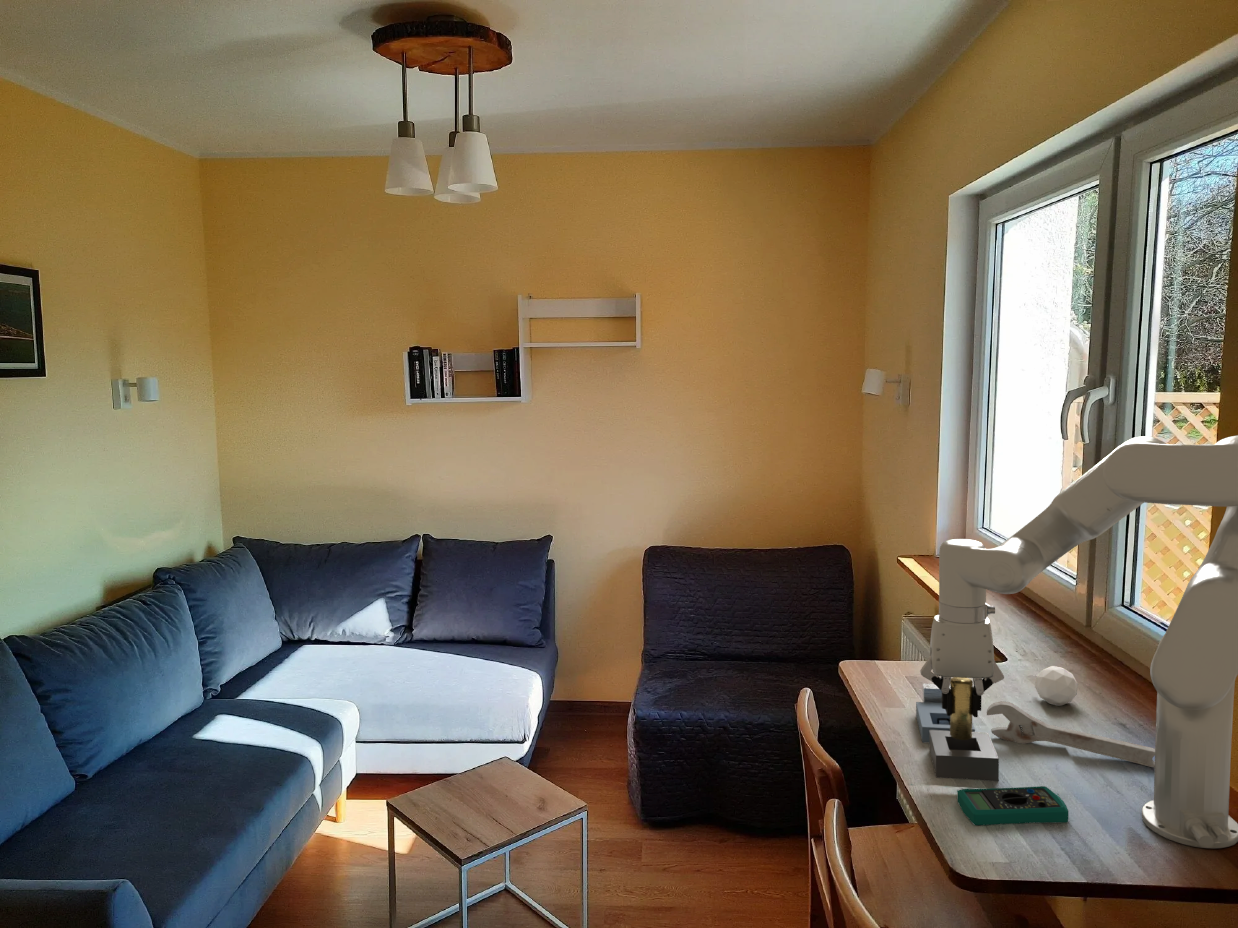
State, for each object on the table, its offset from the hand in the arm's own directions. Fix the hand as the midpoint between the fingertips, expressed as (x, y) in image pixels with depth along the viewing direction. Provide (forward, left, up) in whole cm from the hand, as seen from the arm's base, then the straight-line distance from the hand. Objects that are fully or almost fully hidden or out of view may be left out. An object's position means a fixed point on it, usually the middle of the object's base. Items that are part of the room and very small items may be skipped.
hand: (961, 712), depth 152 cm
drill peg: (0, 0, -4) cm, 4 cm away
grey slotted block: (0, 0, -11) cm, 11 cm away
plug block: (+19, +1, -10) cm, 22 cm away
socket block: (+14, +1, -11) cm, 18 cm away
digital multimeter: (-13, -6, -11) cm, 18 cm away
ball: (+32, -23, -11) cm, 41 cm away
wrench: (+9, -20, -11) cm, 25 cm away
